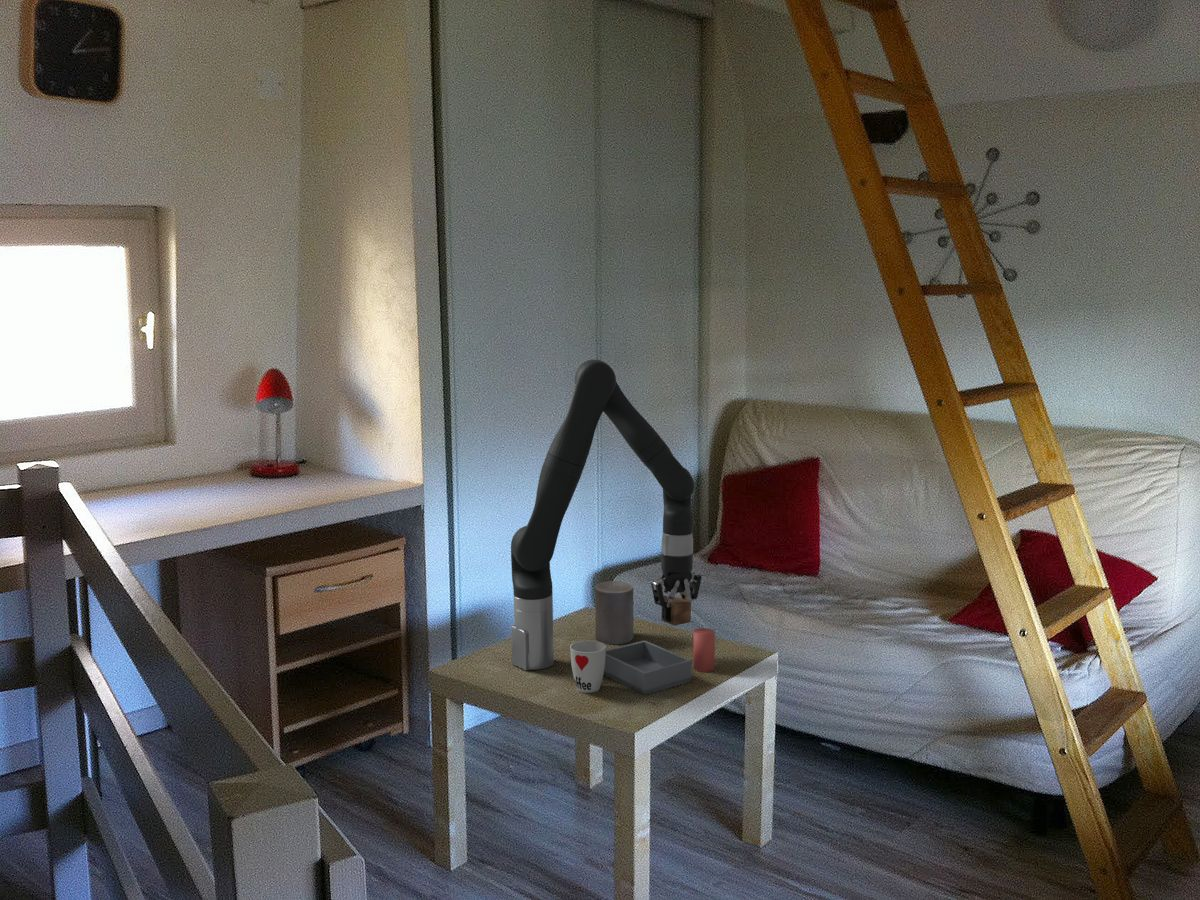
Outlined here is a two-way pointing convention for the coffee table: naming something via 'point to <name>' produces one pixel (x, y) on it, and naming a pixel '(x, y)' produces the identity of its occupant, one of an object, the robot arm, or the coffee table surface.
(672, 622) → the walnut cube
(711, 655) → the red capsule
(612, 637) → the pillar candle
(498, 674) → the coffee table surface
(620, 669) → the tote
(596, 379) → the robot arm
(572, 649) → the cup
